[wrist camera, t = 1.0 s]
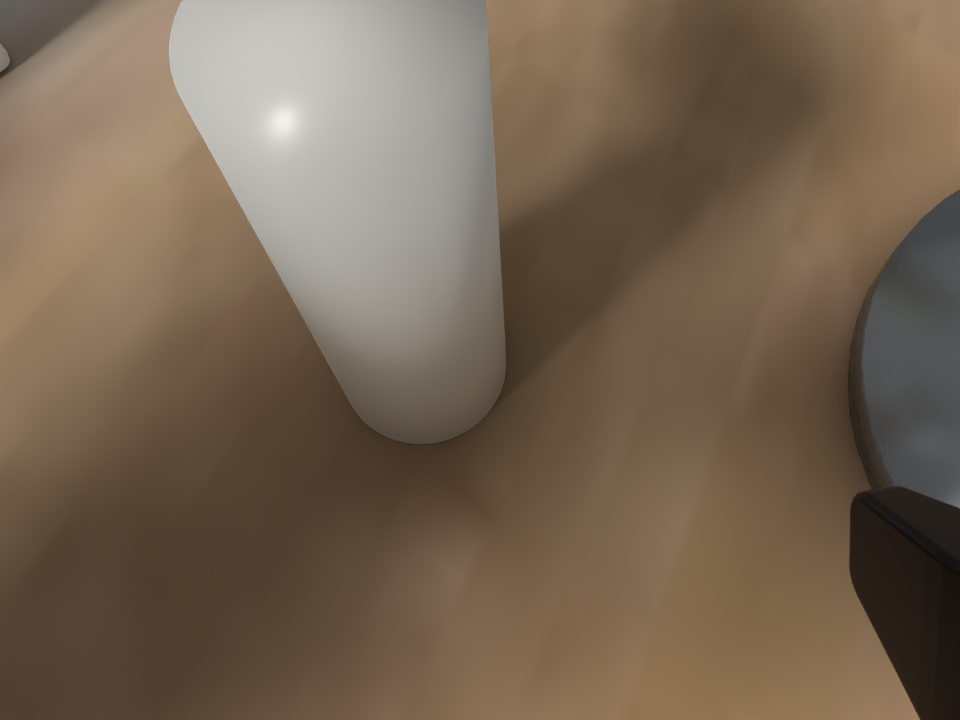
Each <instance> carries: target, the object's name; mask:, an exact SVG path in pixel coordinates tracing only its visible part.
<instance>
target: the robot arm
mask: <svg viewBox="0 0 960 720" xmlns="http://www.w3.org/2000/svg"><path fill="white" fill-rule="evenodd" d="M849 566H850V575H851V579H852V583H853V586H854V589H855V592H856V594H857V596H858V598H859V600H860V602H861V604H862V606H863V608H864V610H865V612H866V614H867V616H868V618H869V620H870V622H871V624H872V625H873V627H874V629H875V631H876V633H877V635H878V637H879V639H880V641H881V643H882V645H883V647H884V649H885V651H886V653H887V655H888V657H889V659H890V661H891V663H892V665H893V667H894V669H895V671H896V673H897V675H898V677H899V679H900V681H901V683H902V685H903V687H904V689H905V691H906V693H907V695H908V697H909V698H910V700H911V702H912V704H913V706H914V708H915V710H916V712H917V714H918V716H919V718H920V720H960V508H958V507H956V506H953V505H950V504H948V503H945V502H942V501H940V500H937V499H934V498H932V497H929V496H926V495H924V494H921V493H919V492H916V491H913V490H911V489H908V488H905V487H902V486H890V487H885V488H879V489H874V490H868V491H862V492H859V493H858V494H857V495H856V496H855V497H854V498H853V500H852V503H851V508H850V558H849Z"/></svg>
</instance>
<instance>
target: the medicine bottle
mask: <svg viewBox="0 0 960 720" xmlns="http://www.w3.org/2000/svg"><path fill="white" fill-rule="evenodd" d="M9 63H10V58H9V56H8V53H7V51H6V50H5V49H4V47H3V46H2V45H1V44H0V72H1V71H3V70H4V69H6V68H7V67H8V65H9Z"/></svg>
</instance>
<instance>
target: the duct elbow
mask: <svg viewBox="0 0 960 720" xmlns="http://www.w3.org/2000/svg"><path fill="white" fill-rule="evenodd" d="M169 60H170V69H171V74H172V77H173V80H174V84H175V87H176V89H177V91H178V93H179V95H180V97H181V99H182V101H183V103H184V105H185V107H186V109H187V110H188V112H189V114H190V116H191V118H192V119H193V121H194V123H195V125H196V127H197V128H198V130H199V132H200V134H201V136H202V137H203V139H204V141H205V143H206V145H207V146H208V148H209V150H210V152H211V154H212V155H213V157H214V159H215V161H216V163H217V164H218V166H219V168H220V170H221V172H222V173H223V175H224V177H225V179H226V181H227V182H228V184H229V186H230V188H231V190H232V191H233V193H234V195H235V197H236V199H237V201H238V202H239V204H240V206H241V208H242V210H243V211H244V213H245V215H246V217H247V219H248V220H249V222H250V224H251V226H252V228H253V229H254V231H255V233H256V235H257V237H258V238H259V240H260V242H261V244H262V246H263V247H264V249H265V251H266V253H267V255H268V256H269V258H270V260H271V262H272V264H273V265H274V267H275V269H276V271H277V273H278V274H279V276H280V278H281V280H282V282H283V283H284V285H285V287H286V289H287V291H288V292H289V294H290V296H291V298H292V300H293V301H294V303H295V305H296V307H297V309H298V310H299V312H300V314H301V316H302V318H303V319H304V321H305V323H306V325H307V327H308V328H309V330H310V332H311V334H312V336H313V338H314V339H315V341H316V343H317V345H318V347H319V348H320V350H321V352H322V354H323V356H324V357H325V359H326V361H327V363H328V365H329V366H330V368H331V370H332V372H333V374H334V375H335V377H336V379H337V381H338V383H339V384H340V386H341V388H342V390H343V392H344V393H345V395H346V397H347V399H348V401H349V402H350V404H351V406H352V408H353V409H354V411H355V412H356V413H357V415H358V416H359V417H360V418H361V419H362V420H363V421H364V423H366V424H367V425H368V426H369V427H370V428H372V429H373V430H374V431H376V432H378V433H379V434H381V435H383V436H385V437H388V438H390V439H392V440H396V441H399V442H403V443H410V444H432V443H438V442H443V441H447V440H449V439H452V438H455V437H457V436H459V435H461V434H463V433H465V432H467V431H468V430H470V429H471V428H473V427H474V426H476V425H477V424H478V423H479V422H480V421H481V420H482V419H483V418H484V417H485V416H486V415H487V414H488V413H489V412H490V410H491V409H492V407H493V406H494V404H495V403H496V401H497V399H498V397H499V395H500V393H501V391H502V387H503V384H504V381H505V375H506V346H505V328H504V310H503V292H502V275H501V257H500V239H499V221H498V203H497V185H496V167H495V149H494V131H493V113H492V95H491V77H490V59H489V41H488V23H487V13H486V6H485V1H484V0H182V2H181V3H180V5H179V7H178V10H177V13H176V16H175V18H174V21H173V25H172V30H171V34H170V41H169Z"/></svg>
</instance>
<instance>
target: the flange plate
mask: <svg viewBox="0 0 960 720" xmlns="http://www.w3.org/2000/svg"><path fill="white" fill-rule="evenodd" d="M848 387H849V404H850V414H851V419H852V424H853V429H854V434H855V439H856V444H857V448H858V451H859V454H860V456H861V459H862V462H863V465H864V468H865V471H866V474H867V477H868V480H869V482H870V484H871V486H872V488H873V490H874V489H879V488H885V487H890V486H902V487H905V488H908V489H911V490H913V491H916V492H919V493H921V494H924V495H926V496H929V497H932V498H934V499H937V500H940V501H942V502H945V503H948V504H950V505H953V506H956V507H958V508H960V190H958V191H957V192H955V193H953V194H952V195H950V196H949V197H947V198H946V199H944V200H943V201H942V202H941V203H939V204H938V205H937V206H936V207H935V208H934V209H932V210H931V211H930V212H929V213H928V214H927V215H925V216H924V217H923V218H922V219H921V220H920V221H919V222H918V224H917V225H916V226H915V227H914V228H913V229H912V231H911V232H910V233H909V234H908V235H907V236H906V238H905V239H904V240H903V241H902V242H901V244H900V245H899V246H898V247H897V249H896V250H895V251H894V252H893V254H892V255H891V256H890V258H889V259H888V260H887V261H886V263H885V264H884V266H883V267H882V269H881V271H880V272H879V274H878V275H877V277H876V279H875V280H874V282H873V284H872V285H871V287H870V288H869V291H868V293H867V295H866V298H865V300H864V303H863V305H862V308H861V310H860V312H859V315H858V318H857V322H856V326H855V330H854V334H853V339H852V343H851V348H850V360H849V371H848Z"/></svg>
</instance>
